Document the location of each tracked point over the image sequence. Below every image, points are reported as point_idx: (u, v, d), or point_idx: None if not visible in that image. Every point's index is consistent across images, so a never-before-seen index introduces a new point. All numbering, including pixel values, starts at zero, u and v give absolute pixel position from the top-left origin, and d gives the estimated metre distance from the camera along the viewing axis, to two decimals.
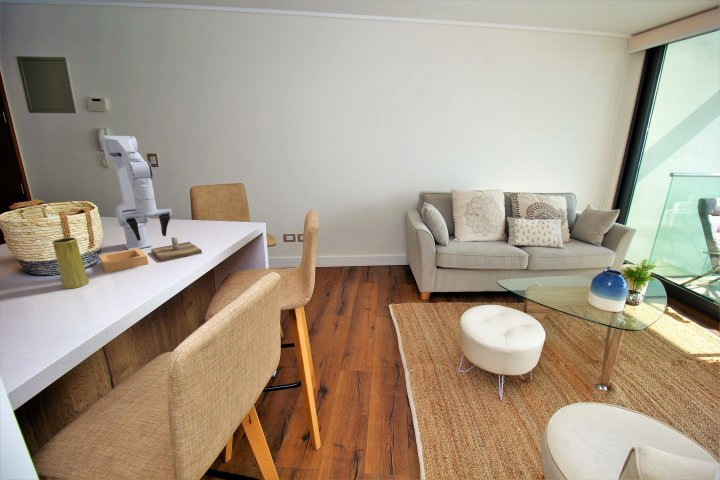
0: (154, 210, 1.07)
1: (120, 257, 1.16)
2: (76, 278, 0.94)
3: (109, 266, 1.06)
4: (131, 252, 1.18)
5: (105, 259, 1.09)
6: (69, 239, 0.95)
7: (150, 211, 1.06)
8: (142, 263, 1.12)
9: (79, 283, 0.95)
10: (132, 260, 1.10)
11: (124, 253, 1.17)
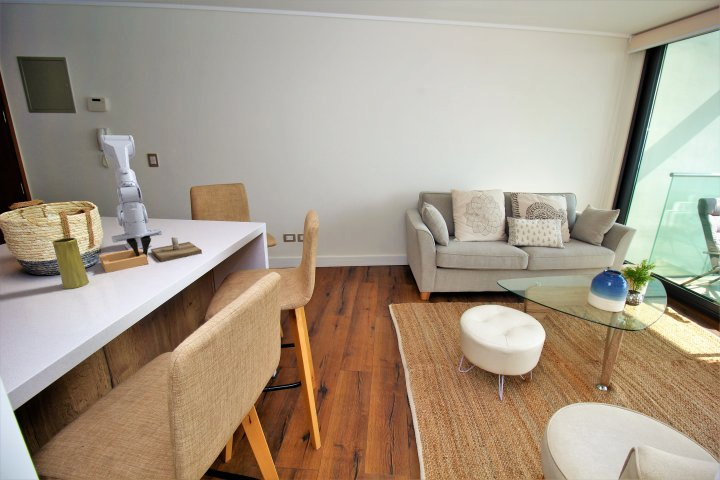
0: (144, 232, 1.12)
1: (120, 257, 1.16)
2: (76, 278, 0.94)
3: (109, 266, 1.06)
4: (131, 252, 1.18)
5: (105, 259, 1.09)
6: (69, 239, 0.95)
7: (140, 233, 1.11)
8: (142, 263, 1.12)
9: (79, 283, 0.95)
10: (132, 260, 1.10)
11: (124, 253, 1.17)
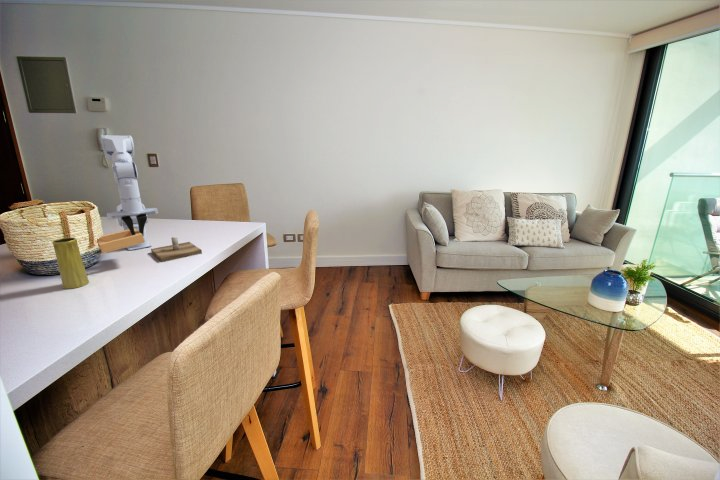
0: (140, 209, 1.10)
1: (116, 237, 1.14)
2: (76, 278, 0.94)
3: (105, 246, 1.04)
4: (127, 232, 1.16)
5: (101, 240, 1.07)
6: (69, 239, 0.95)
7: (136, 210, 1.09)
8: (138, 242, 1.10)
9: (79, 283, 0.95)
10: (128, 239, 1.08)
11: (120, 234, 1.15)
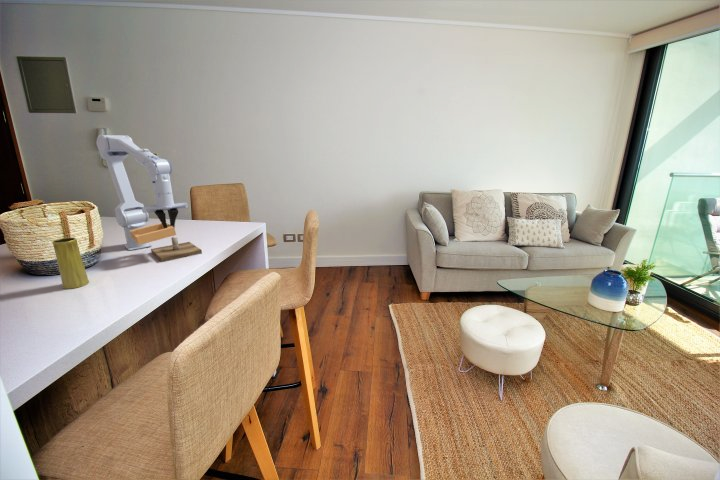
0: (172, 203, 1.16)
1: (149, 231, 1.21)
2: (76, 278, 0.94)
3: (141, 238, 1.10)
4: (158, 226, 1.23)
5: (136, 233, 1.14)
6: (69, 239, 0.95)
7: (168, 204, 1.15)
8: (170, 234, 1.17)
9: (79, 283, 0.95)
10: (161, 232, 1.14)
11: (152, 227, 1.21)
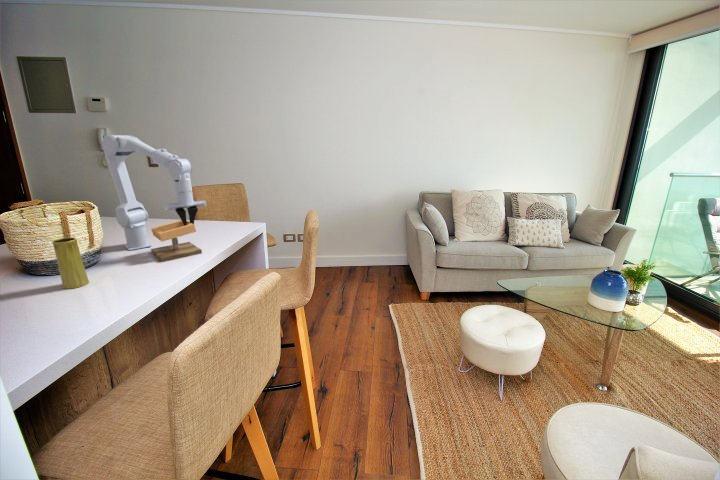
0: (192, 201, 1.21)
1: (169, 228, 1.25)
2: (76, 278, 0.94)
3: (163, 235, 1.15)
4: (178, 223, 1.27)
5: (158, 230, 1.18)
6: (69, 239, 0.95)
7: (189, 202, 1.20)
8: (191, 231, 1.22)
9: (79, 283, 0.95)
10: (182, 229, 1.19)
11: (172, 224, 1.26)
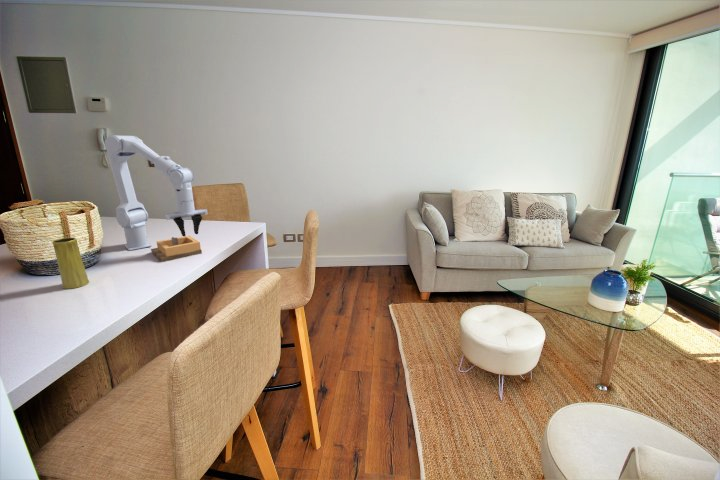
0: (193, 210, 1.22)
1: None
2: (76, 278, 0.94)
3: (169, 250, 1.17)
4: (183, 239, 1.30)
5: (164, 244, 1.21)
6: (69, 239, 0.95)
7: (190, 211, 1.21)
8: (196, 248, 1.24)
9: (79, 283, 0.95)
10: (188, 245, 1.22)
11: None
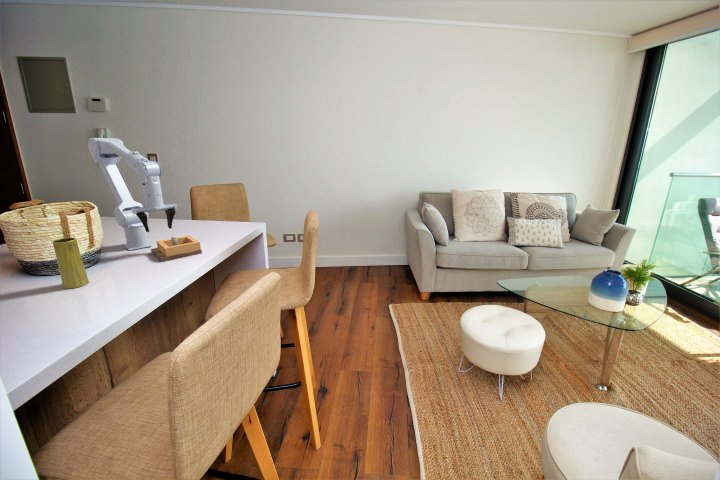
0: (161, 205, 1.20)
1: None
2: (76, 278, 0.94)
3: (169, 250, 1.17)
4: (183, 239, 1.30)
5: (164, 244, 1.21)
6: (69, 239, 0.95)
7: (158, 206, 1.18)
8: (196, 248, 1.24)
9: (79, 283, 0.95)
10: (188, 245, 1.22)
11: None
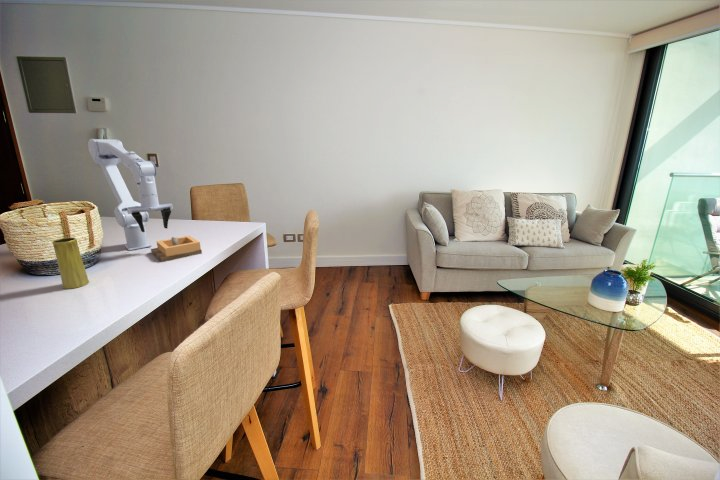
0: (157, 205, 1.19)
1: None
2: (76, 278, 0.94)
3: (169, 250, 1.17)
4: (183, 239, 1.30)
5: (164, 244, 1.21)
6: (69, 239, 0.95)
7: (153, 205, 1.18)
8: (196, 248, 1.24)
9: (79, 283, 0.95)
10: (188, 245, 1.22)
11: None
